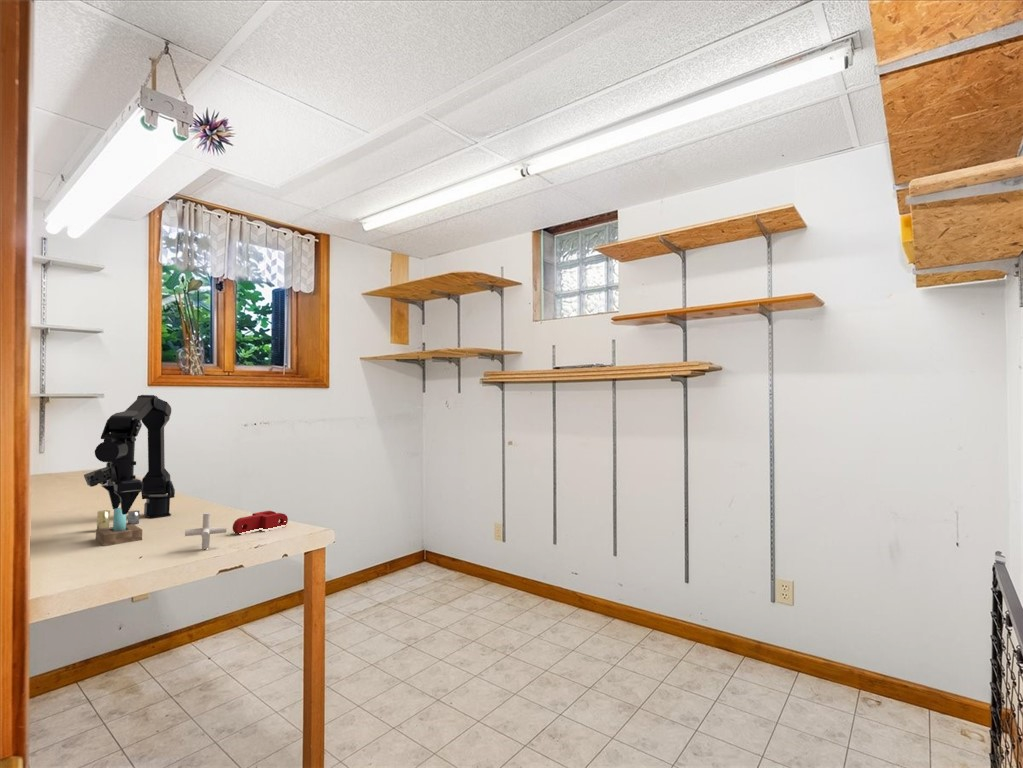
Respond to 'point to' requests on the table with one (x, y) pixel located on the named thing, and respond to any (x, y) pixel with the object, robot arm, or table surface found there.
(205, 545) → the pipe connector
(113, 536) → the hole block
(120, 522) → the pin long
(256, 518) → the mechanical linkage
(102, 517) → the pin medium
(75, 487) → the table surface
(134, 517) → the pin short
